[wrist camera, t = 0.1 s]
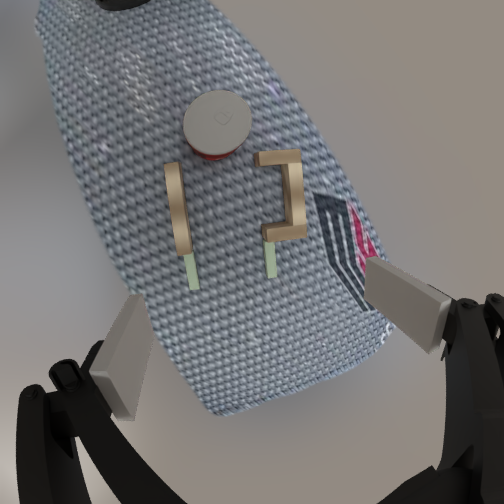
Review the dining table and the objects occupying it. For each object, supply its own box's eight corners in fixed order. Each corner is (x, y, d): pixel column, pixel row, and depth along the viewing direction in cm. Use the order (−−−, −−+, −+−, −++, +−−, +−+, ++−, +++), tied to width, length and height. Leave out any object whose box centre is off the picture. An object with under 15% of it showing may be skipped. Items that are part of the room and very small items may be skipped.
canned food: (249, 123, 38) (264, 105, 27) (226, 169, 39) (232, 166, 29) (204, 103, 36) (203, 79, 25) (180, 149, 37) (170, 139, 27)
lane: (168, 165, 38) (163, 164, 34) (291, 151, 40) (300, 149, 36) (180, 248, 41) (177, 256, 38) (298, 231, 44) (307, 237, 40)
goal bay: (184, 251, 42) (183, 253, 40) (271, 238, 43) (274, 240, 42) (190, 286, 43) (190, 290, 42) (274, 273, 45) (277, 276, 44)
